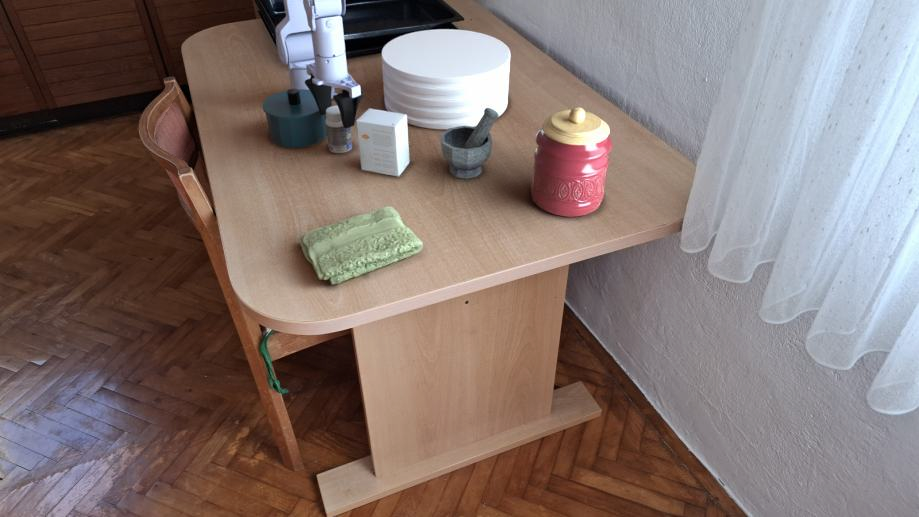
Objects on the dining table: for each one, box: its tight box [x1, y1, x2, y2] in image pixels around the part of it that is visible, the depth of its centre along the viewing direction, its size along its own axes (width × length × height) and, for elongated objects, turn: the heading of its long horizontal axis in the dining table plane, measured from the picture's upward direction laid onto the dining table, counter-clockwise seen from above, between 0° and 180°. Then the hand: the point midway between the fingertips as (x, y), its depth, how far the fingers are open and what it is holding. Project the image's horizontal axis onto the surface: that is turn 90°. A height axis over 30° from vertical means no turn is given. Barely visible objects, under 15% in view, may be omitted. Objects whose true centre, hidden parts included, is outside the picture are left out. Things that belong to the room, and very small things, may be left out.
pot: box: [265, 112, 327, 149], centre depth 135 cm, size 12×12×6 cm
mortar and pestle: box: [440, 108, 500, 179], centre depth 122 cm, size 11×9×12 cm
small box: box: [355, 107, 411, 178], centre depth 123 cm, size 8×6×10 cm
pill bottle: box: [325, 105, 353, 154], centre depth 129 cm, size 5×5×8 cm
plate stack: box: [381, 28, 512, 130], centre depth 146 cm, size 28×28×12 cm
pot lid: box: [261, 88, 320, 119], centre depth 132 cm, size 13×13×4 cm
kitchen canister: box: [530, 106, 613, 218], centre depth 113 cm, size 13×13×18 cm
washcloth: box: [297, 205, 424, 286], centre depth 105 cm, size 13×18×3 cm
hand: (337, 119), depth 128 cm, fingers open, 7 cm apart
